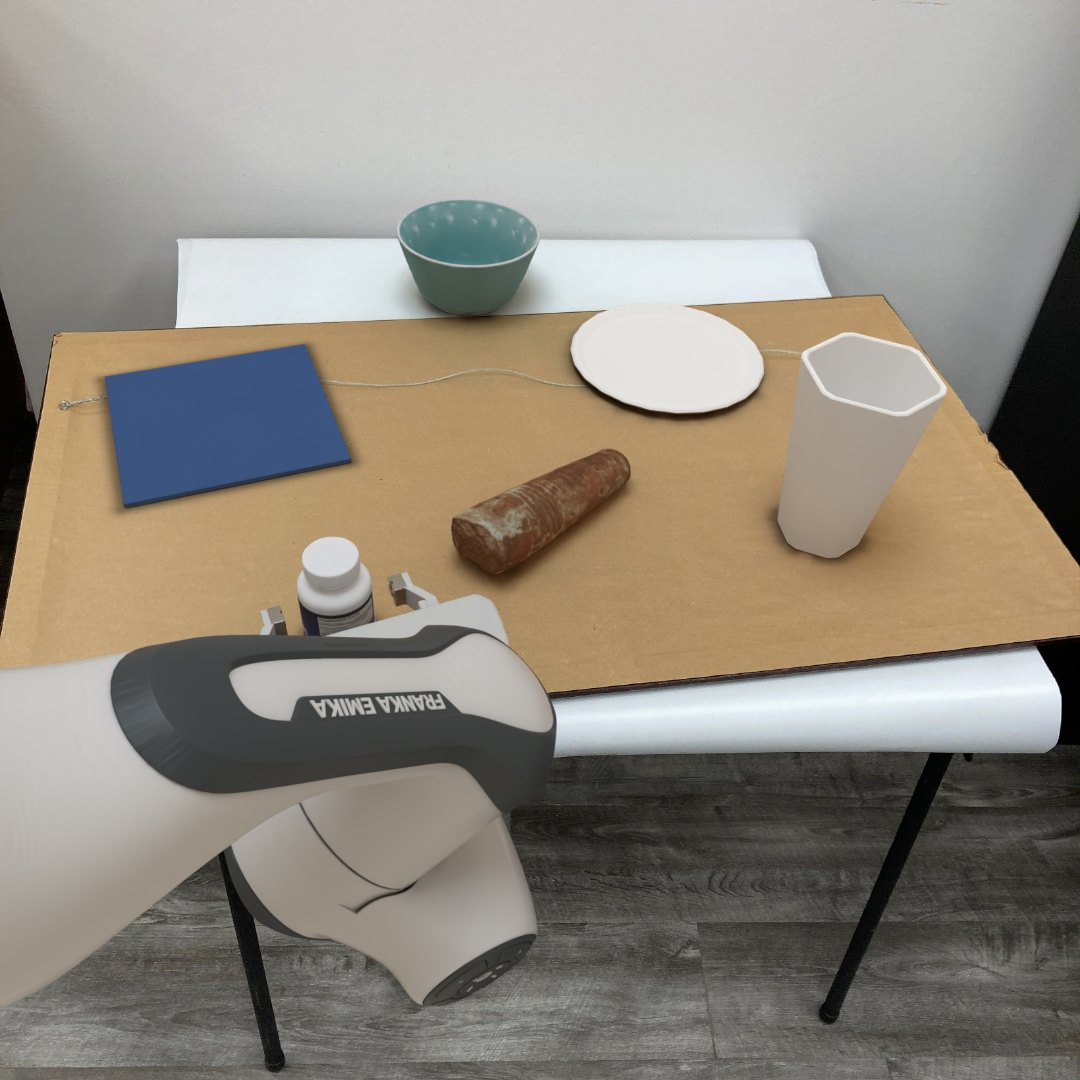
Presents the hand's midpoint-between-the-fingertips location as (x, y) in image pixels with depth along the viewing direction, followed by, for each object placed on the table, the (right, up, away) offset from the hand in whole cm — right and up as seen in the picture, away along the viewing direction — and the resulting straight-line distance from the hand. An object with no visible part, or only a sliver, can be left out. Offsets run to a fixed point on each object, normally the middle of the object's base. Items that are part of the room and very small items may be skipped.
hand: (335, 596), depth 72 cm
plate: (+29, +23, +34) cm, 50 cm away
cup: (+40, +5, +16) cm, 43 cm away
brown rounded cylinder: (+15, +6, +15) cm, 22 cm away
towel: (-16, +16, +23) cm, 32 cm away
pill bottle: (0, -4, +4) cm, 6 cm away
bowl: (+7, +32, +42) cm, 53 cm away
